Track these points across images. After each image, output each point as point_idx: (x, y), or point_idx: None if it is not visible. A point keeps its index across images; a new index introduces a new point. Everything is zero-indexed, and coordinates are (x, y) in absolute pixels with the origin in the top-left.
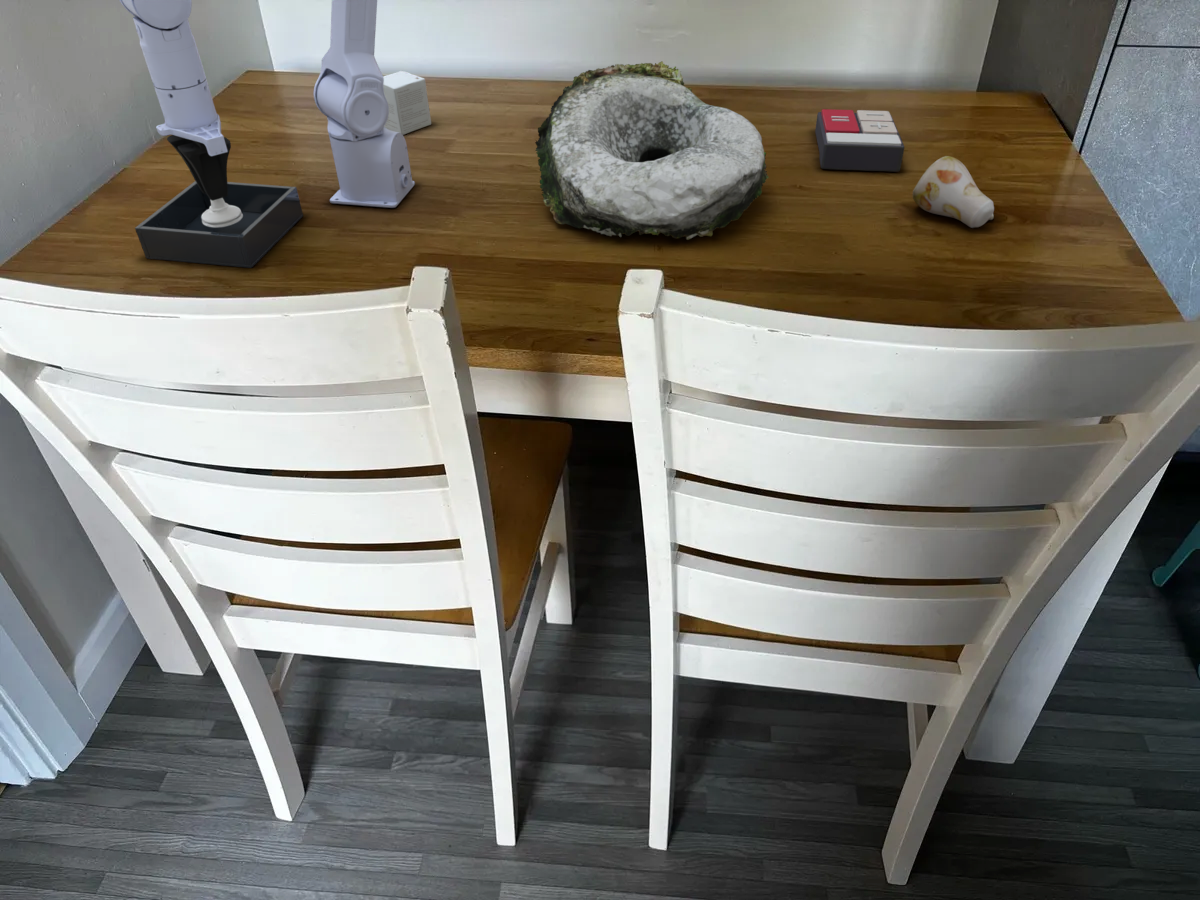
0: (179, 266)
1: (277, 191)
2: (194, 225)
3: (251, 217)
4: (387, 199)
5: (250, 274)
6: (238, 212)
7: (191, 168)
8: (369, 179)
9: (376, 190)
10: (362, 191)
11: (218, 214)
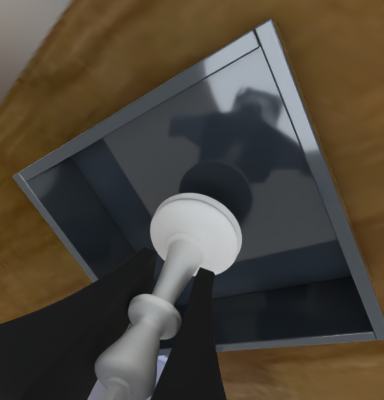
0: (167, 62)
1: None
2: (310, 208)
3: (230, 278)
4: None
5: (45, 135)
6: (162, 258)
7: (180, 327)
8: None
9: None
10: None
11: (170, 230)
